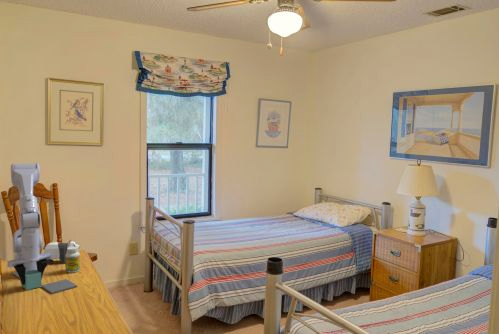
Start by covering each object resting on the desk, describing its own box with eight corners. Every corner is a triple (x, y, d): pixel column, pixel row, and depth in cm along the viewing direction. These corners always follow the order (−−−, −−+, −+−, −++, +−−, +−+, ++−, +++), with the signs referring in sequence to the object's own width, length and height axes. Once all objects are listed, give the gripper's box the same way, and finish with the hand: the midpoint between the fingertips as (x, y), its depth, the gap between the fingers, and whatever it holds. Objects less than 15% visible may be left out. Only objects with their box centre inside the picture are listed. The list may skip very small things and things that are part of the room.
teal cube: (21, 286, 144) (21, 272, 143) (36, 282, 148) (35, 269, 147) (26, 290, 140) (26, 276, 140) (41, 286, 144) (41, 272, 144)
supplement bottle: (78, 267, 165) (78, 245, 164) (81, 271, 161) (81, 248, 160) (64, 269, 162) (64, 247, 161) (66, 274, 158) (66, 250, 157)
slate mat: (41, 287, 144) (41, 285, 144) (66, 280, 151) (66, 278, 151) (51, 294, 138) (51, 292, 138) (77, 287, 145) (77, 285, 145)
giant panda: (41, 265, 167) (41, 243, 166) (45, 261, 172) (44, 239, 171) (79, 263, 171) (78, 241, 170) (81, 259, 176) (80, 238, 175)
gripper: (12, 252, 135) (13, 290, 136) (55, 243, 145) (56, 279, 147) (5, 247, 139) (6, 284, 140) (47, 239, 150) (48, 274, 151)
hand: (31, 281), depth 144 cm, fingers closed on teal cube, 5 cm apart
